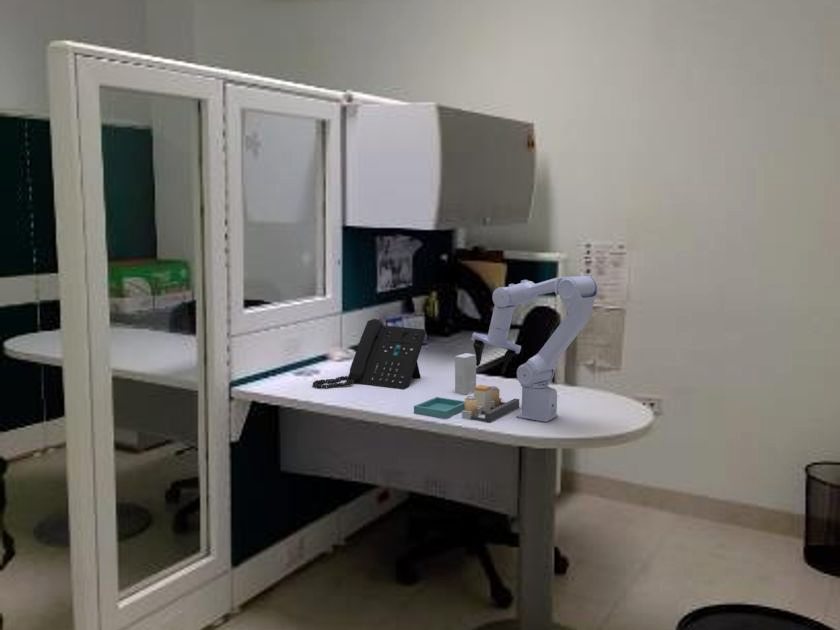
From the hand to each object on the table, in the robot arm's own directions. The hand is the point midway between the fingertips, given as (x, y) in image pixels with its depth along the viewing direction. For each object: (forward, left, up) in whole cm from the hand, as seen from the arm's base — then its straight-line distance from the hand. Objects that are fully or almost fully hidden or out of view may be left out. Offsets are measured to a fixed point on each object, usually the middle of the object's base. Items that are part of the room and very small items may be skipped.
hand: (490, 368), depth 236 cm
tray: (+9, +14, -11) cm, 20 cm away
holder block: (-4, +8, -11) cm, 14 cm away
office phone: (+47, -3, -12) cm, 48 cm away
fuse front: (-1, +15, -11) cm, 18 cm away
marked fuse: (-1, +8, -11) cm, 13 cm away
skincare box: (+14, -9, -11) cm, 20 cm away
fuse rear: (-1, +1, -11) cm, 11 cm away
